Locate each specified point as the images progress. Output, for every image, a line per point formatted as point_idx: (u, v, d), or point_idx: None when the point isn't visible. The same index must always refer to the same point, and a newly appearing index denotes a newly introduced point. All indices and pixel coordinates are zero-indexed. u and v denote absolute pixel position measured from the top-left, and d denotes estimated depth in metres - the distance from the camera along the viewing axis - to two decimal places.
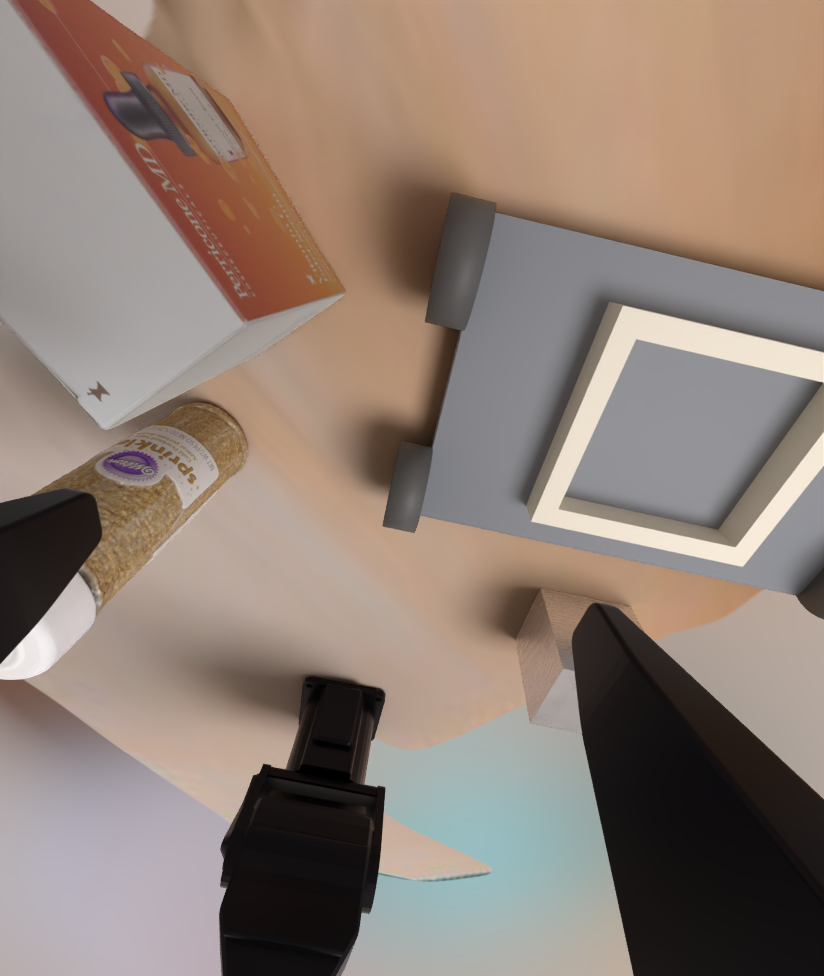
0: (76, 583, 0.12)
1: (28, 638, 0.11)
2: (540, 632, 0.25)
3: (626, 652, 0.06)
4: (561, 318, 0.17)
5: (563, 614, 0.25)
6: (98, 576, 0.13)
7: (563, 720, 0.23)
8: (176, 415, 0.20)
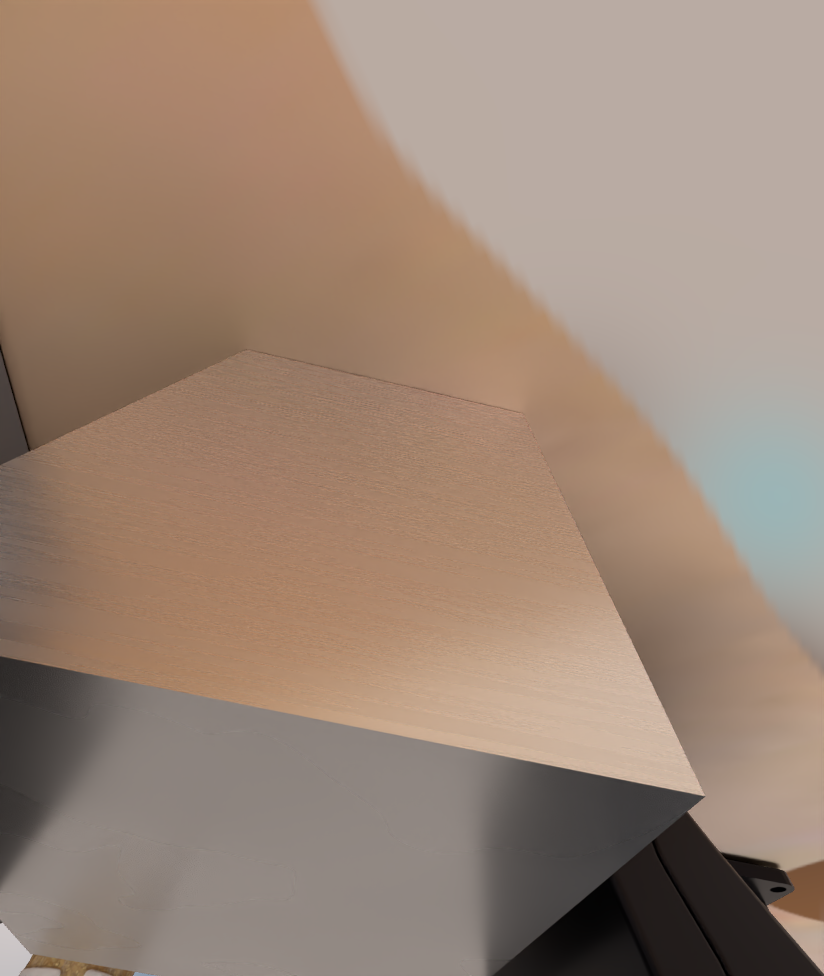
0: None
1: None
2: None
3: None
4: None
5: None
6: None
7: None
8: None
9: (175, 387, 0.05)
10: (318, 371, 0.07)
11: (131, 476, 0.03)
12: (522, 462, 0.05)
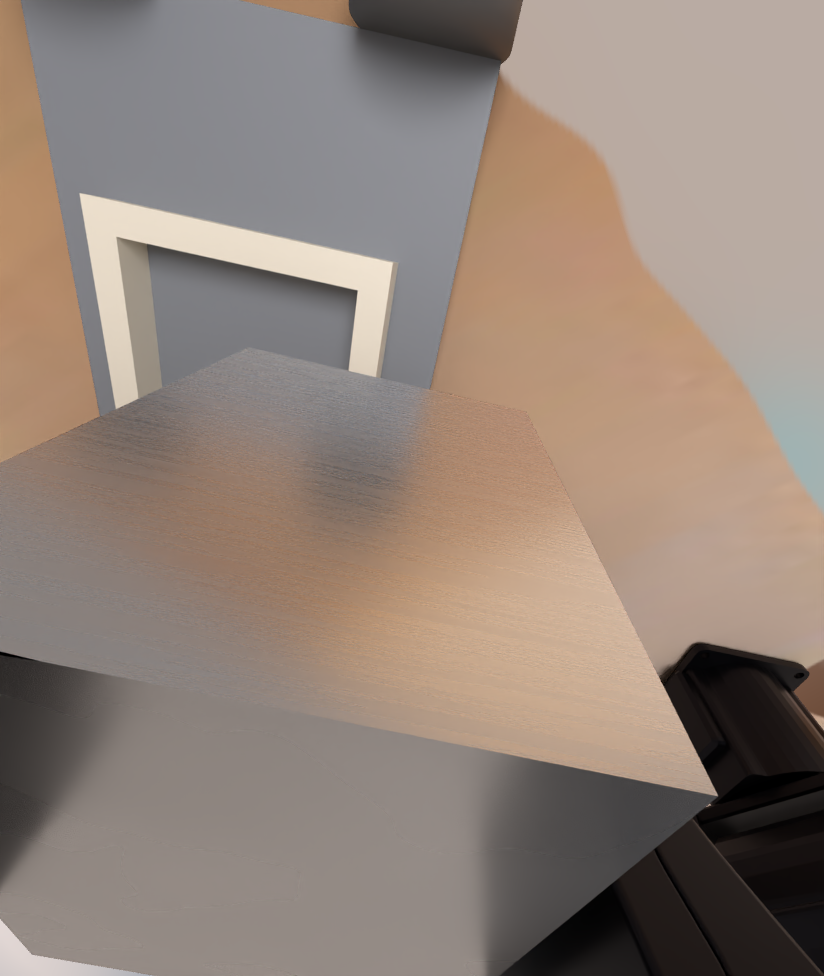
0: None
1: None
2: None
3: None
4: None
5: None
6: None
7: None
8: None
9: (176, 385, 0.05)
10: (320, 370, 0.07)
11: (135, 474, 0.03)
12: (526, 460, 0.05)
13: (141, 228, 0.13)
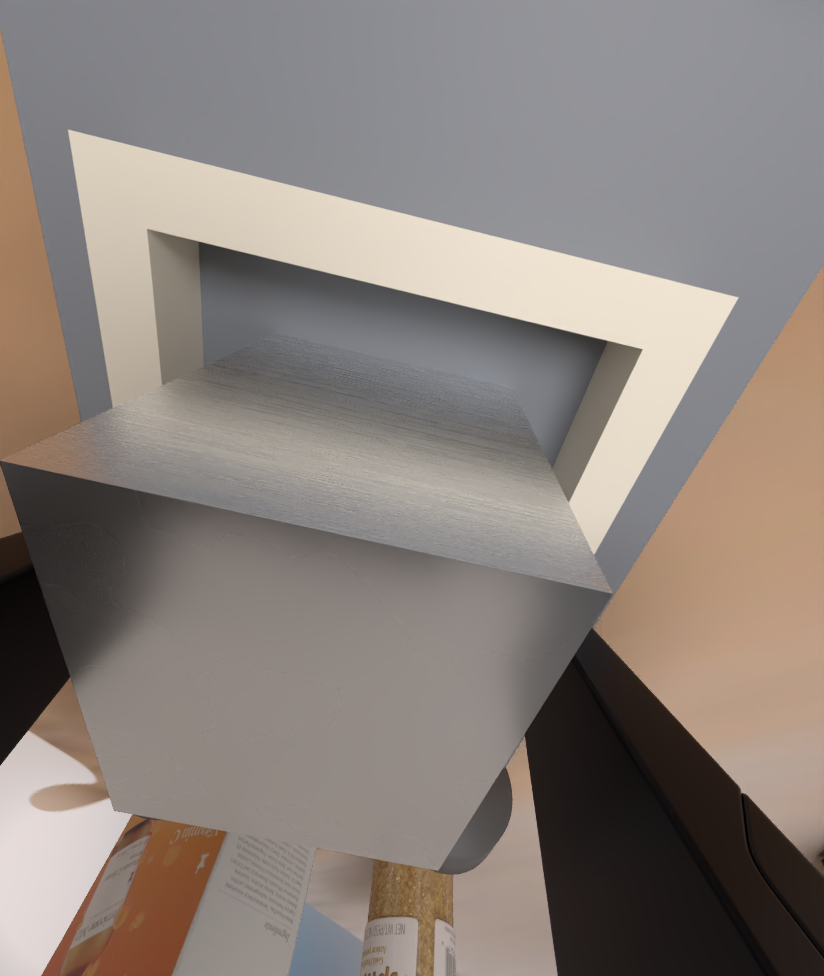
0: None
1: None
2: None
3: None
4: None
5: None
6: None
7: (401, 812, 0.06)
8: None
9: (227, 358, 0.06)
10: (338, 351, 0.08)
11: (216, 414, 0.05)
12: (509, 421, 0.07)
13: (203, 212, 0.06)
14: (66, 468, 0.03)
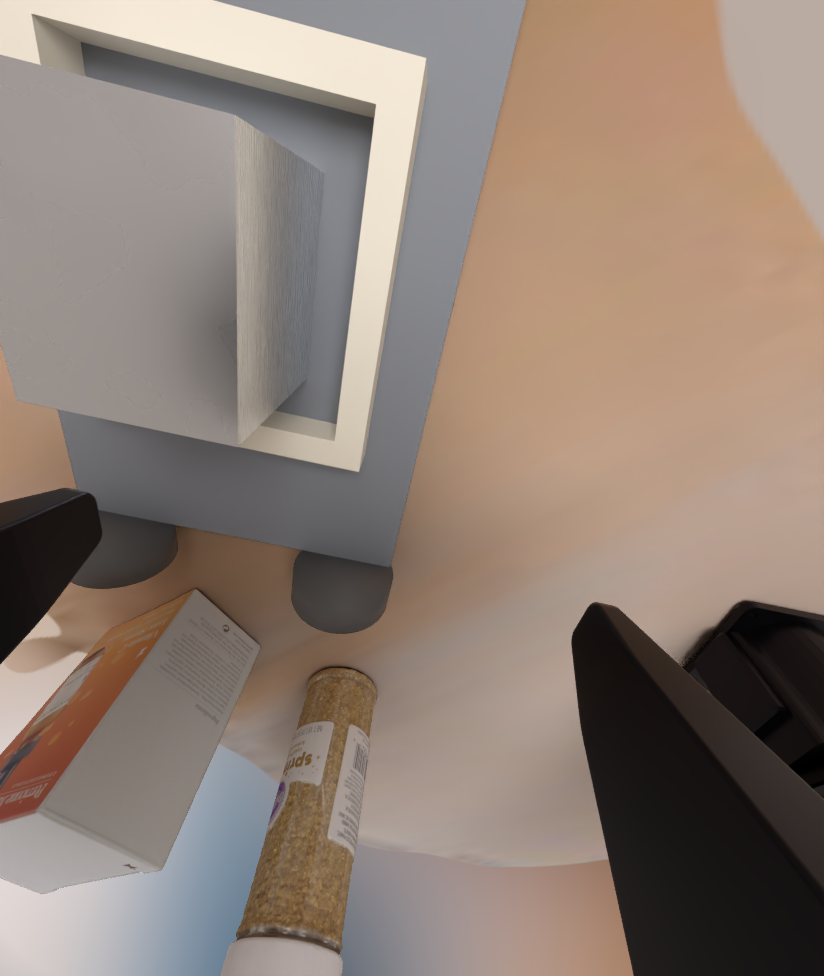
0: (260, 947, 0.15)
1: None
2: None
3: (626, 652, 0.06)
4: (138, 442, 0.17)
5: None
6: (281, 919, 0.16)
7: (194, 369, 0.09)
8: None
9: None
10: None
11: None
12: None
13: None
14: None
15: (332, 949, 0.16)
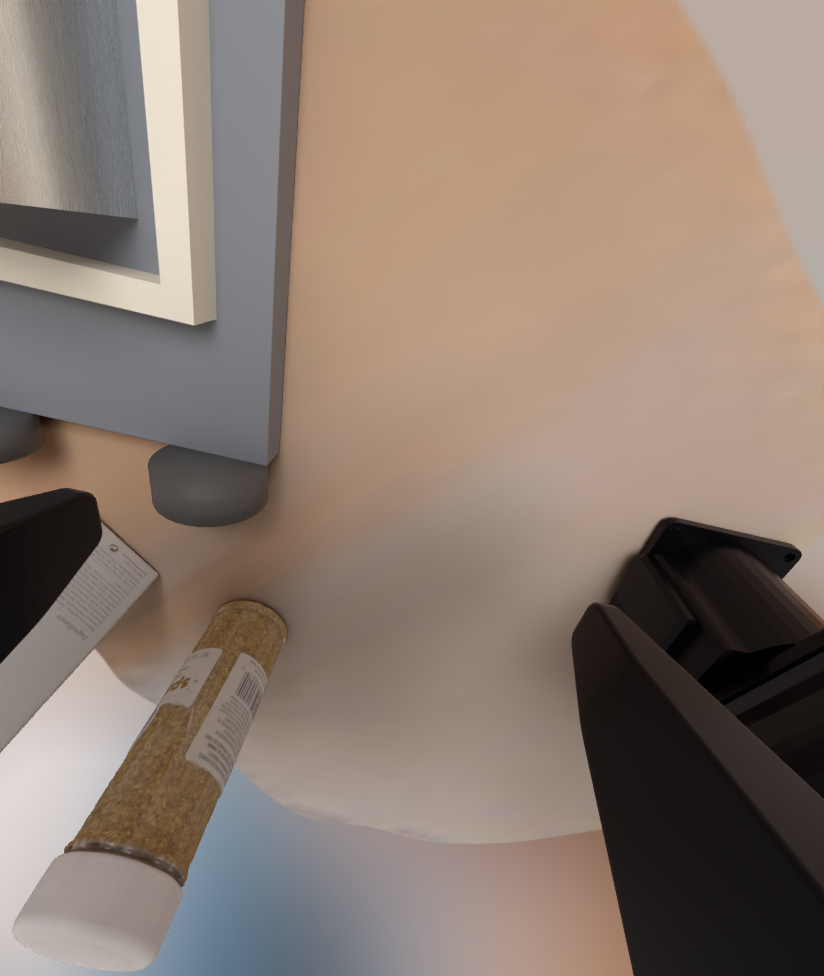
0: (74, 861, 0.13)
1: (58, 934, 0.12)
2: None
3: (626, 652, 0.06)
4: None
5: None
6: (107, 834, 0.14)
7: None
8: None
9: None
10: None
11: None
12: None
13: None
14: None
15: (164, 871, 0.14)
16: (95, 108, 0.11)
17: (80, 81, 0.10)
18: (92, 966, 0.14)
